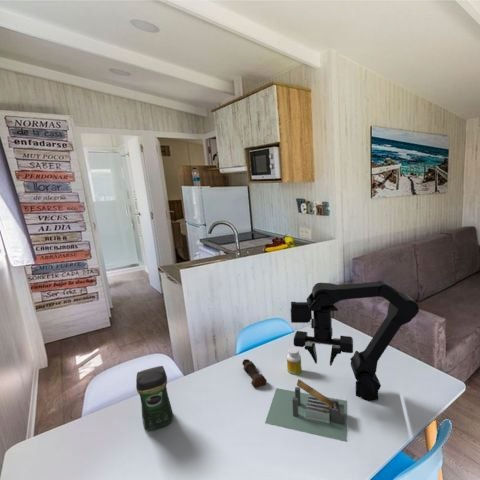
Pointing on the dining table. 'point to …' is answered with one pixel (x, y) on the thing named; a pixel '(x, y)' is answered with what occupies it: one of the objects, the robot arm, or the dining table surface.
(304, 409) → the board
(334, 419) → the block
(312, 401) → the heatsink
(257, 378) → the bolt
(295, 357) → the supplement bottle
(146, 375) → the coffee jar
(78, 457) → the dining table surface
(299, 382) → the brown long flat bar
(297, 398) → the lug fork
